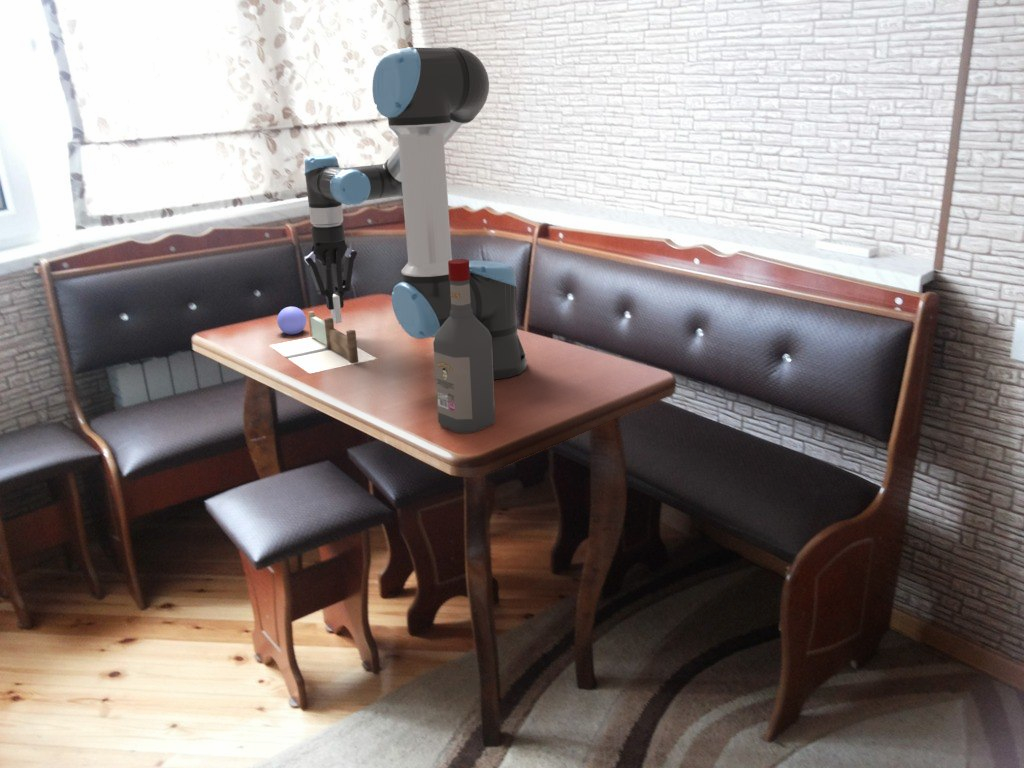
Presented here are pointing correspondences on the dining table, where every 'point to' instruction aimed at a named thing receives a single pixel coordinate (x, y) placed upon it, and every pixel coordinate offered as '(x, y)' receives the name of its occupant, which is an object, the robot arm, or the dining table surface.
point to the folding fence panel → (317, 327)
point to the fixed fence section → (341, 341)
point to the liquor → (463, 361)
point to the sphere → (291, 320)
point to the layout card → (315, 355)
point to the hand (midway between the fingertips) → (336, 321)
